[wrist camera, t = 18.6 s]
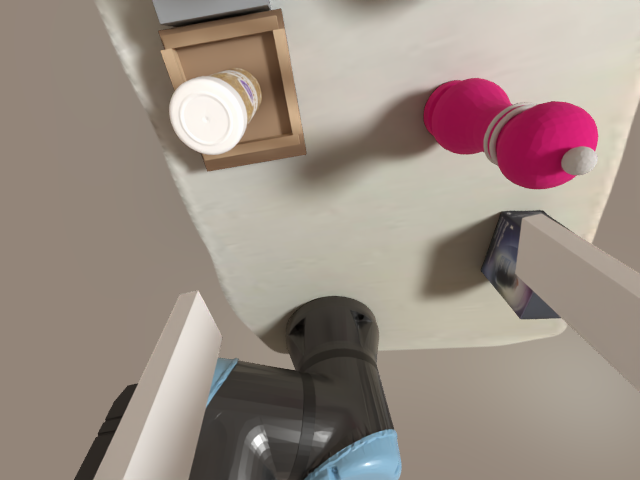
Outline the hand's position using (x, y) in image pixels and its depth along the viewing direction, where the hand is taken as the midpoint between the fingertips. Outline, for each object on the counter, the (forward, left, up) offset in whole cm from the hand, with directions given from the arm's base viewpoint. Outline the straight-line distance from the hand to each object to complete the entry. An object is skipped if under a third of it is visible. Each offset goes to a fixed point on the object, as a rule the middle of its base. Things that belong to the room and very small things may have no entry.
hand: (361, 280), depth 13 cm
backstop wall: (+13, +7, -27) cm, 31 cm away
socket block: (+5, +7, -27) cm, 29 cm away
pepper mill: (0, -15, -28) cm, 32 cm away
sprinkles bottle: (+6, +7, -24) cm, 26 cm away
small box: (-20, -25, -28) cm, 43 cm away
